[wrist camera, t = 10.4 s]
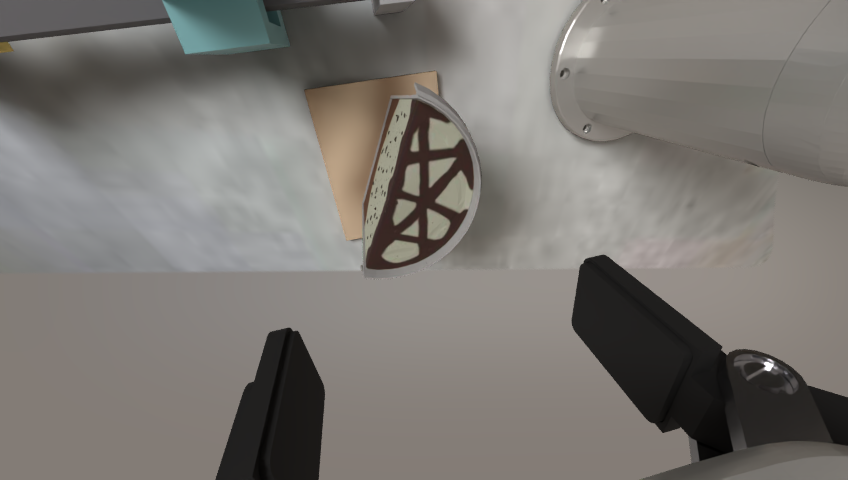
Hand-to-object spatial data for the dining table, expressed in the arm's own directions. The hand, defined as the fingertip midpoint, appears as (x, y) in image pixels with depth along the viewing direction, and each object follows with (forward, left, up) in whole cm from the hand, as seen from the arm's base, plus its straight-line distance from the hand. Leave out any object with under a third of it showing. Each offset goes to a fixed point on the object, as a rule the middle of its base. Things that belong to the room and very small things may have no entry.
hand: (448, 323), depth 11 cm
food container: (-2, +1, -20) cm, 20 cm away
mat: (0, 0, -20) cm, 20 cm away
